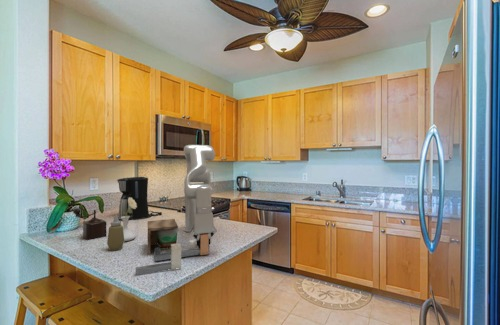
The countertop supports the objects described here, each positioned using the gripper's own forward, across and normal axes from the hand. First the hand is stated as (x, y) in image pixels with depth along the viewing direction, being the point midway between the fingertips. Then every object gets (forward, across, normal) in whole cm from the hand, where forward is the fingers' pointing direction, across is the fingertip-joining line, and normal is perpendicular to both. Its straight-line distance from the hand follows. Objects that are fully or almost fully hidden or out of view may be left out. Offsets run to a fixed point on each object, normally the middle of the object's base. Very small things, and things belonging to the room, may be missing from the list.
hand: (203, 246), depth 121 cm
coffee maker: (+5, +32, -100) cm, 105 cm away
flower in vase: (+4, +38, -40) cm, 55 cm away
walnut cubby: (+4, +19, -18) cm, 26 cm away
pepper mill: (+4, +58, -54) cm, 79 cm away
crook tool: (+3, +10, -3) cm, 11 cm away
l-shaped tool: (+4, +21, +10) cm, 24 cm away
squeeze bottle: (+4, +42, -26) cm, 49 cm away
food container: (+4, +16, -18) cm, 24 cm away
